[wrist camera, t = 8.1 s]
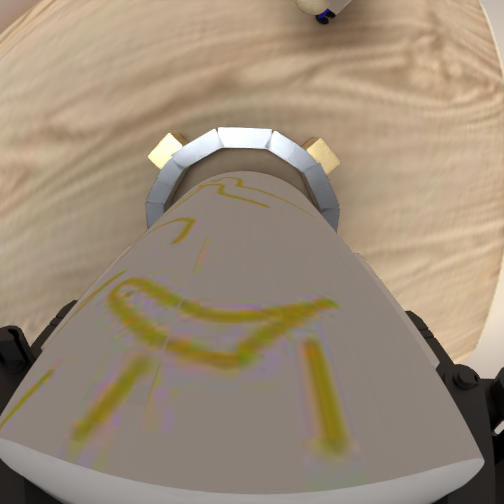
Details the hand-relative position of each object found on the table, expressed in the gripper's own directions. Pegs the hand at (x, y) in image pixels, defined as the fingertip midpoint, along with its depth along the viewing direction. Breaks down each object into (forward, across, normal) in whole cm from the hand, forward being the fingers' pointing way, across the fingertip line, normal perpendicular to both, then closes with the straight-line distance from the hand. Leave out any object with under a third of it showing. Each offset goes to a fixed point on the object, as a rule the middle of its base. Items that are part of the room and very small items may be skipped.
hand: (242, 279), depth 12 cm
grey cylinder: (+2, 0, 0) cm, 2 cm away
